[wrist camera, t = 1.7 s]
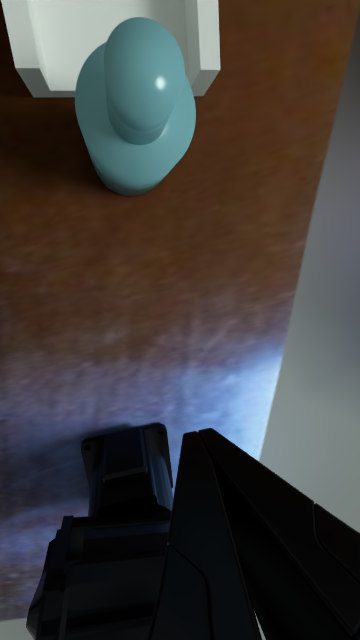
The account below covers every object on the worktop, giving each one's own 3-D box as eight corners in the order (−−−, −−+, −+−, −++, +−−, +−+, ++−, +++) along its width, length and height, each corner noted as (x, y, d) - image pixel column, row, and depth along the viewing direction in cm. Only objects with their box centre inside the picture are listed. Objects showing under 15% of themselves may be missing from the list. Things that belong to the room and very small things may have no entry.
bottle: (169, 194, 18) (224, 155, 9) (98, 199, 18) (76, 162, 8) (162, 112, 17) (219, -34, 8) (84, 114, 16) (41, -46, 7)
